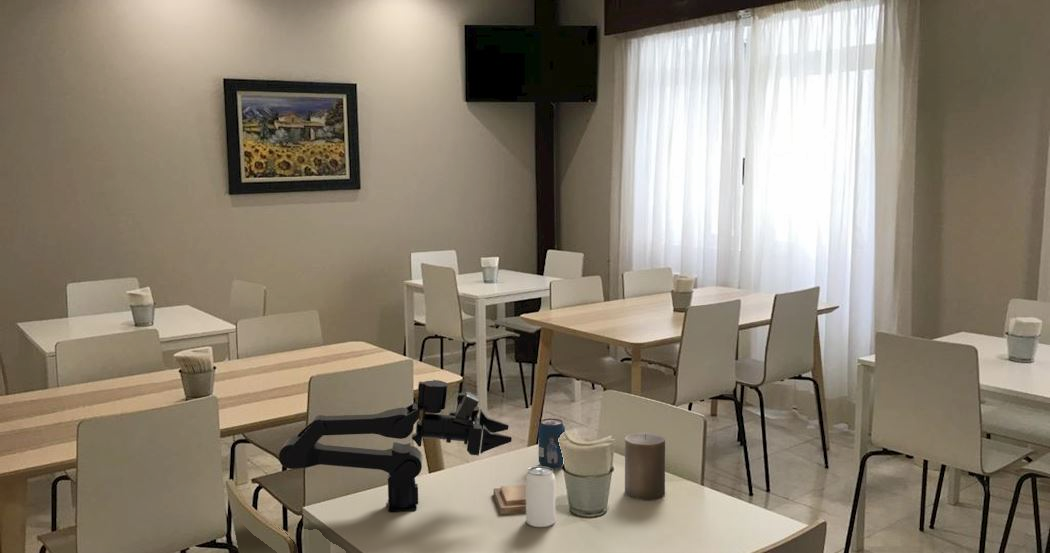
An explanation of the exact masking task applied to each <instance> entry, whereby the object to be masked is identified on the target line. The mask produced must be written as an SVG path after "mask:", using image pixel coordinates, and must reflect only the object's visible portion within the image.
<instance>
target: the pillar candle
mask: <svg viewBox="0 0 1050 553" xmlns="http://www.w3.org/2000/svg"><path fill="white" fill-rule="evenodd" d="M625 436H626V437H625V438H624V441H625V442H624V494H625V495H626V496H627V497H629V498H631V499H635V500H639V501H640V500H642V501H655V500H659V499H662V498H663V497H664V496H665V495H666V438H665V437H664V436H663V435H660V434H656V433H651V432H637V433H631V434H628V435H625Z"/></svg>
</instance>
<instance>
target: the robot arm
mask: <svg viewBox="0 0 1050 553" xmlns="http://www.w3.org/2000/svg"><path fill="white" fill-rule="evenodd" d="M417 386H418V387H417V388H418V394H417V400H416V401H415V402H413V403H411V404H409V405H408V406H405V407H397V408H396V407H395V408H391V409H388V410H384V411H382V412H379V413H374V414H350V415H348V414H347V415H321V414H319V415H317V416H315V417H313V419H312V421H311V422H310V423H308V425H306V426H305V427H303V429H302V430H301V431H300V432H299V433H298V434H297V435H293V436H290V437H289V438H288V439H286V440H285V442H284V443H283V445H282V447H281V448H280V451H279V453H278V458H279V463H280V464H281V465H282V466H283V468H286V469H288V470H297V469H299V470H300V469H308V468H311V467H315V466H316V467H317V466H321V465H322V466H331V467H332V466H334V467H344V468H354V469H355V468H357V469H365V470H366V469H367V470H379V471H383V472H384V473H388V475H387V494H388V495H387V512H389V513H392V512H393V513H394V512H407V511H416V510H417V509H418V507H417V505H419V486H418V483H416V477H417V476H419V474H420V473H422V472H421V471H422V469H423V455H422V452H421V450H419V448H418V447H421V446H422V443H423V442H422V441H423V438H424V439H431V440H432V439H435V440H442V441H443V440H445V443H449V444H450V443H452V441H455V442H463V445H466V452H468V454H469V455H470V456H480V454H483V453H485V452H487V451H490V450H493V449H495V448H497V447H501V446H503V445H506V444H509V443H511V442H512V439H513V438H512V436H509V435H505V434H500V432H505V431H508V430H509V424H507V423H504V422H501V421H499V420H496V419H494V418H491V417H489V416H487V415H486V414H485V412H484V411H483V410H482V409H481V408H480V407H479V406H478V404H479V396H477V395H475V394H473V393H472V392H471V391H464V392H459V394H458V395H457V397H456V401H457V402H458V404H457V408H456V411H450V412H448V414H444V413H443V414H442V413H441V412H442V410H444V409H446V404H447V398H448V389H449V383H448V382H446V381H442V380H438V379H437V380H436V379H432V380H426V381H419V382H418V385H417ZM420 411H422V414H421V419H419V418H420ZM415 424H416V427H415V433H414V434H412V433H413V431H414V426H415ZM342 435H344V436H345V435H346V436H347V435H350V436H351V435H379V436H382V437H385V438H392V439H399V440H402V439H407V438H408V437H409V436H410V435H412V436H411V439H412V440H413V441H414V442H415V444H416V445H417V446H418V447H416V446H412V444H411V443H400V442H393V443H392V448H388V449H383V450H382V449H373V448H371V449H370V448H365V447H364V448H363V447H362V448H361V447H354V446H353V447H352V446H351V447H350V446H340V445H339V446H338V445H330V444H323V443H320V442H318V441H319V440H321V438H322V437H324V436H342Z"/></svg>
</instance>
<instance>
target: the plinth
mask: <svg viewBox="0 0 1050 553" xmlns="http://www.w3.org/2000/svg"><path fill="white" fill-rule="evenodd" d="M493 497H494V500H495V502H496V504H497V507H499V508H498V510H499V513H500V515H509V514H521V513H524V514H525V513H526V484H515V485H503V486H500V487H497V488H493Z"/></svg>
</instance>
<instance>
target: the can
mask: <svg viewBox="0 0 1050 553" xmlns="http://www.w3.org/2000/svg"><path fill="white" fill-rule="evenodd" d="M525 476H526V477H525V485H526V512H525V520H526V523H527V524H528V526H531V527H533V528H539V529H540V528H542V529H543V528H548V527H550V526H552V525H554V523H555V522H556V476H555V474H554V469H552V468H550V467H546V466H541V465H537V466H535V465H534V466H532V467H529V468H528V469H527V474H526V475H525Z"/></svg>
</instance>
